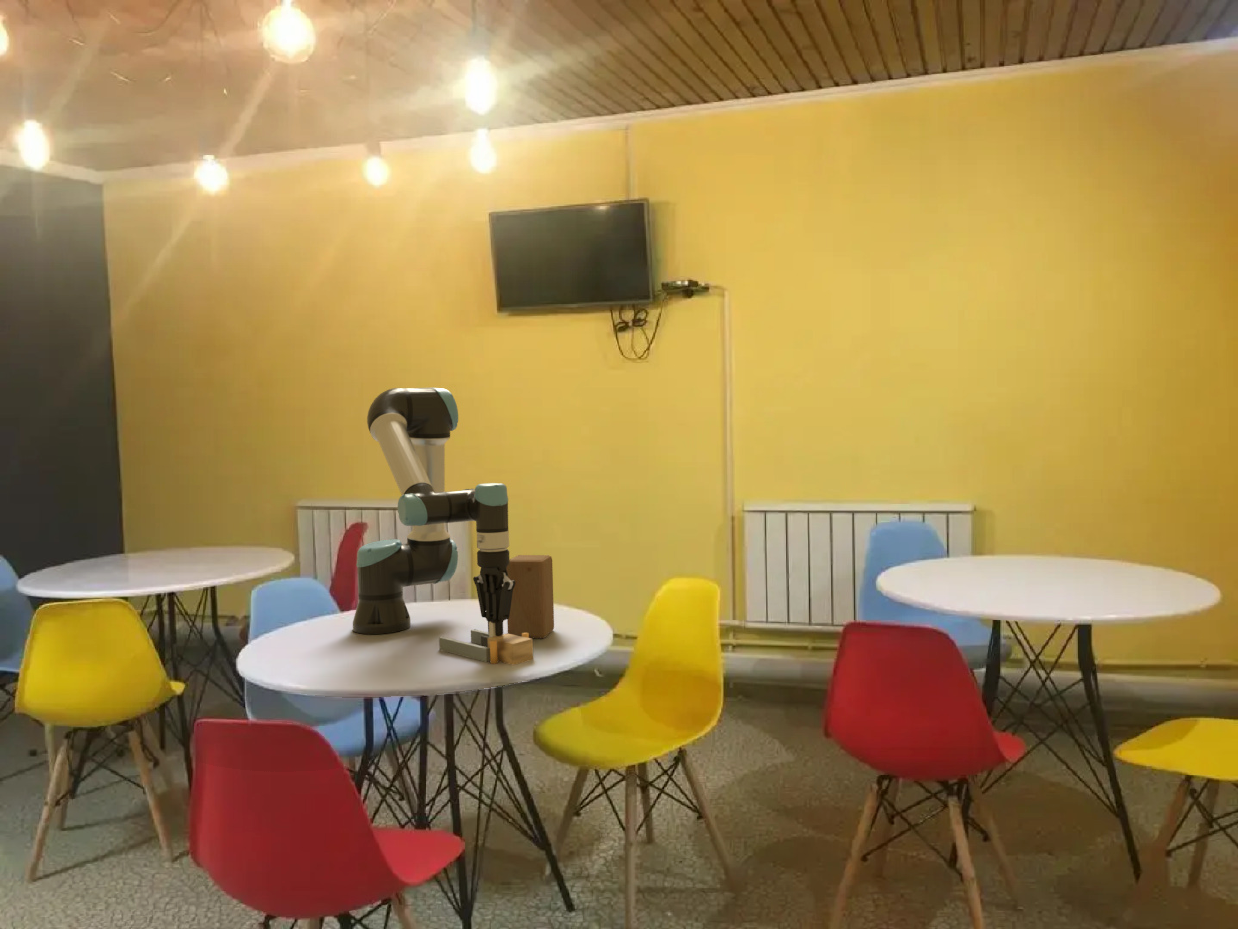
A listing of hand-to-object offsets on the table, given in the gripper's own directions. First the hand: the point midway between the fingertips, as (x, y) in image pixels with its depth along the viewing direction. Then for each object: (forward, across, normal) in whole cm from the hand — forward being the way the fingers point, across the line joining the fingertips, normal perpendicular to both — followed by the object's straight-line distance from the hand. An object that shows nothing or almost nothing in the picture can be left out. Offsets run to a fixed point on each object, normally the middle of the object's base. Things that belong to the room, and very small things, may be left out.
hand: (496, 648), depth 216 cm
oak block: (+2, +5, 0) cm, 6 cm away
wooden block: (+2, -9, +19) cm, 21 cm away
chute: (+2, -5, 0) cm, 5 cm away
